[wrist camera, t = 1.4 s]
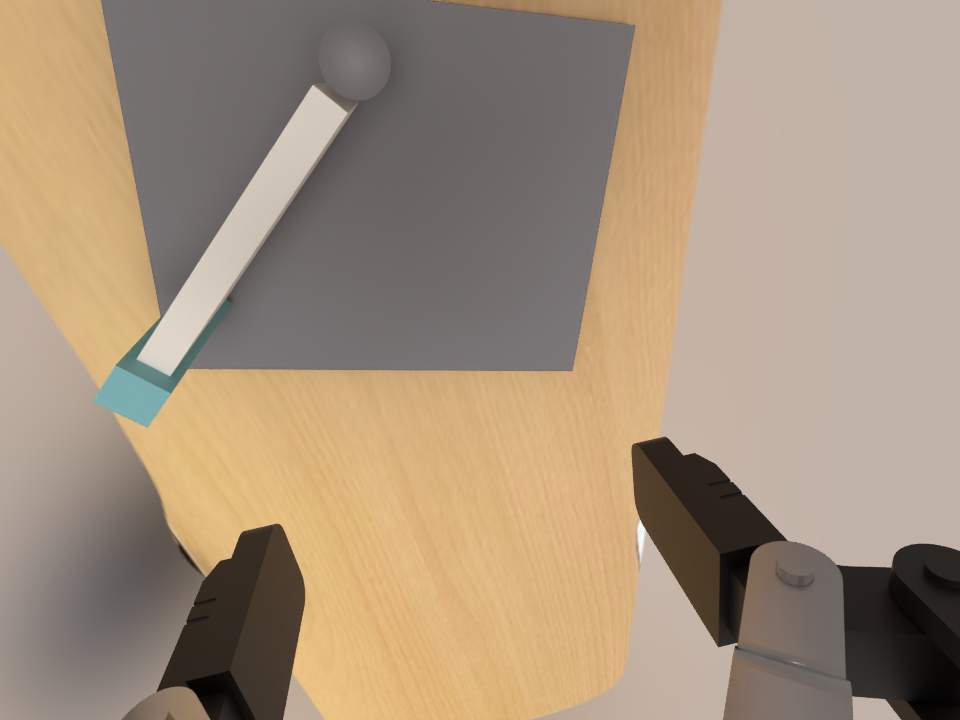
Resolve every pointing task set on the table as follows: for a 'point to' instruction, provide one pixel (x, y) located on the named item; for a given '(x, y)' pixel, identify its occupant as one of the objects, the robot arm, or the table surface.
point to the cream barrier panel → (249, 224)
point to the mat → (379, 178)
